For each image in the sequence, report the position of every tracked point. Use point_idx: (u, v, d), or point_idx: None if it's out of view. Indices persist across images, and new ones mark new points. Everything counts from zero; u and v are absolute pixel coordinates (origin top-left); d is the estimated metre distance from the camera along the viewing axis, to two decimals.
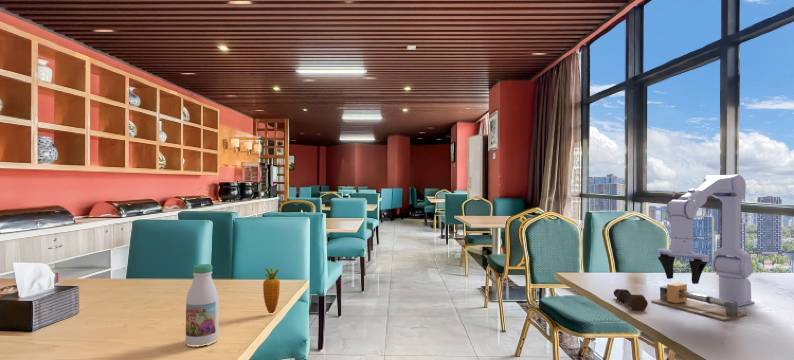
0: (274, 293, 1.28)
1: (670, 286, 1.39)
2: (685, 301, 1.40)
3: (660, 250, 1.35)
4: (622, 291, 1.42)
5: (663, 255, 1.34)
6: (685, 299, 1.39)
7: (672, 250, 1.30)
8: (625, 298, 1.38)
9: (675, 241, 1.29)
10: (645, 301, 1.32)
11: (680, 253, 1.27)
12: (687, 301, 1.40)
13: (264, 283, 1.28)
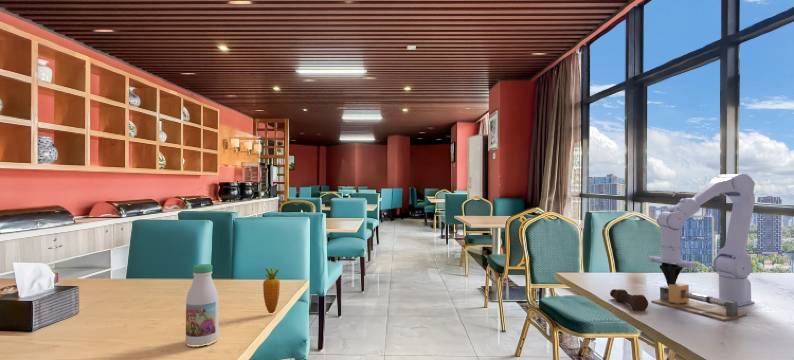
0: (274, 293, 1.28)
1: (672, 286, 1.38)
2: None
3: (651, 257, 1.46)
4: (620, 291, 1.41)
5: None
6: (687, 299, 1.38)
7: (662, 258, 1.42)
8: (624, 298, 1.37)
9: (665, 250, 1.40)
10: (646, 301, 1.32)
11: (669, 261, 1.39)
12: None
13: (264, 283, 1.28)
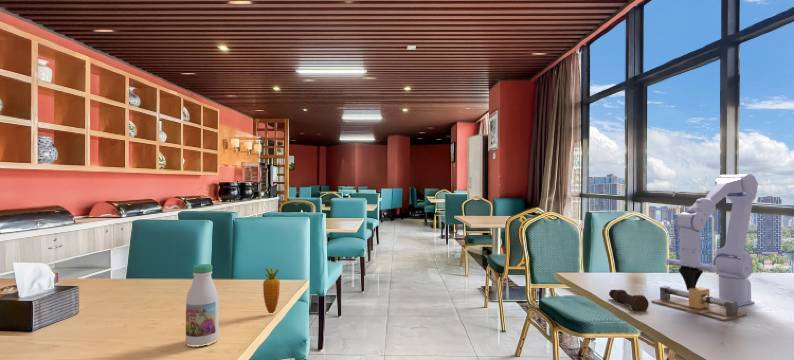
0: (274, 293, 1.28)
1: (692, 291, 1.32)
2: (685, 301, 1.40)
3: (669, 260, 1.41)
4: (619, 292, 1.41)
5: None
6: (708, 304, 1.33)
7: (681, 261, 1.36)
8: (624, 299, 1.37)
9: (684, 252, 1.35)
10: (646, 301, 1.32)
11: (689, 264, 1.33)
12: (687, 301, 1.40)
13: (264, 283, 1.28)
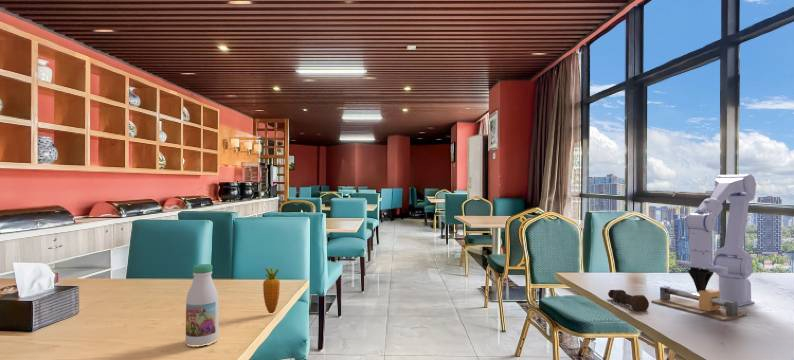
0: (274, 293, 1.28)
1: (702, 293, 1.30)
2: (685, 301, 1.40)
3: (679, 262, 1.38)
4: (619, 292, 1.41)
5: None
6: (718, 307, 1.30)
7: (691, 262, 1.33)
8: (624, 299, 1.37)
9: (694, 254, 1.32)
10: (647, 301, 1.32)
11: (699, 265, 1.31)
12: (687, 301, 1.40)
13: (264, 283, 1.28)
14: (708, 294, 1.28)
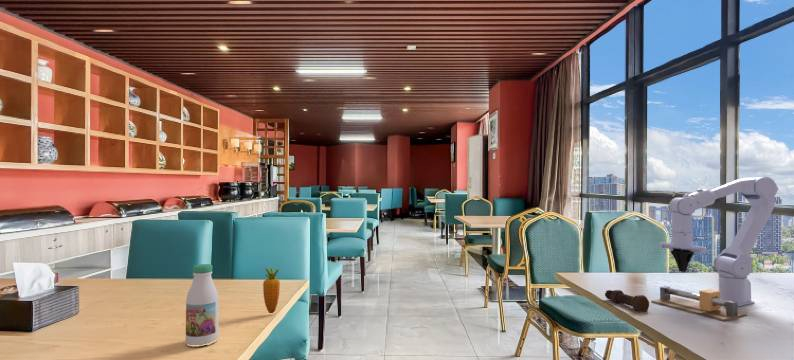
0: (274, 293, 1.28)
1: (703, 293, 1.30)
2: (685, 301, 1.40)
3: (662, 243, 1.48)
4: (617, 292, 1.40)
5: None
6: (719, 307, 1.30)
7: (673, 243, 1.43)
8: (624, 299, 1.36)
9: (676, 235, 1.42)
10: (647, 301, 1.31)
11: (681, 246, 1.40)
12: (687, 301, 1.40)
13: (264, 283, 1.28)
14: (708, 294, 1.28)
